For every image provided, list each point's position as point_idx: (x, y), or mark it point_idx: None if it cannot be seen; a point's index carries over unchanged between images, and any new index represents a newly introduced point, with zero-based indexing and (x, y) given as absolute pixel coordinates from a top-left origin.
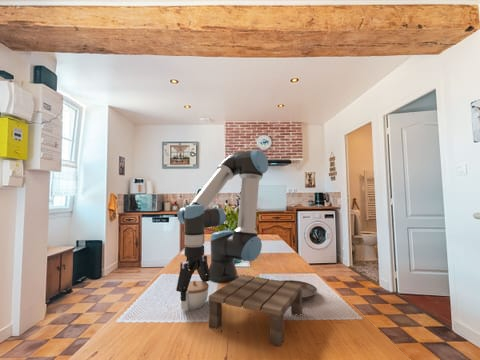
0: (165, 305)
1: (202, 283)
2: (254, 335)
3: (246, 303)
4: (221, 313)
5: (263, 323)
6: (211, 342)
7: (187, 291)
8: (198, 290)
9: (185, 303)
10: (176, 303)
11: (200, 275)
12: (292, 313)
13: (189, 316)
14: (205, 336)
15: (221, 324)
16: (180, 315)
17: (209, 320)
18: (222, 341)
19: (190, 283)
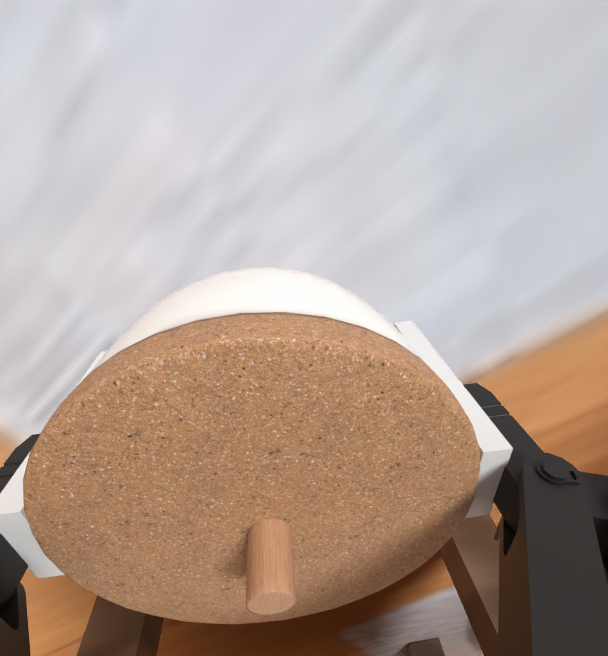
0: (61, 59)
1: (376, 555)
2: (197, 649)
3: None
4: (154, 651)
5: (292, 632)
6: (34, 614)
7: (53, 570)
8: (177, 615)
9: None
10: (201, 154)
11: (520, 597)
12: (409, 647)
13: None
14: (42, 585)
15: None
16: (65, 376)
17: (97, 602)
18: (77, 626)
19: (289, 460)
